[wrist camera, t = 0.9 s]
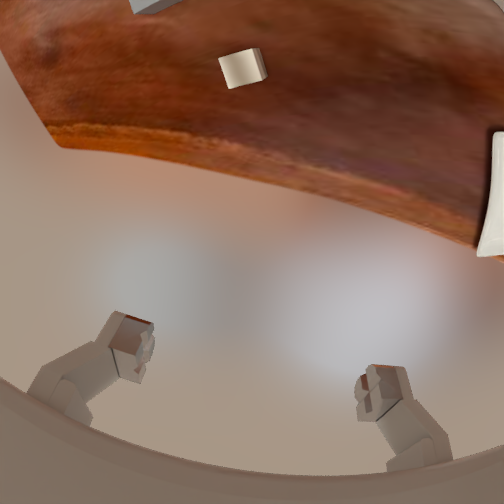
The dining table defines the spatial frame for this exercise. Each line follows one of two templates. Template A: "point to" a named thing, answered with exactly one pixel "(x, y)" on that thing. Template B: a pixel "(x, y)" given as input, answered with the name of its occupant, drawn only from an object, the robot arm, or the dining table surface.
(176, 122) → the dining table surface
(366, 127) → the dining table surface
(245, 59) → the cream cube
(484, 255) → the square plate
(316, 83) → the dining table surface
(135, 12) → the pedestal
